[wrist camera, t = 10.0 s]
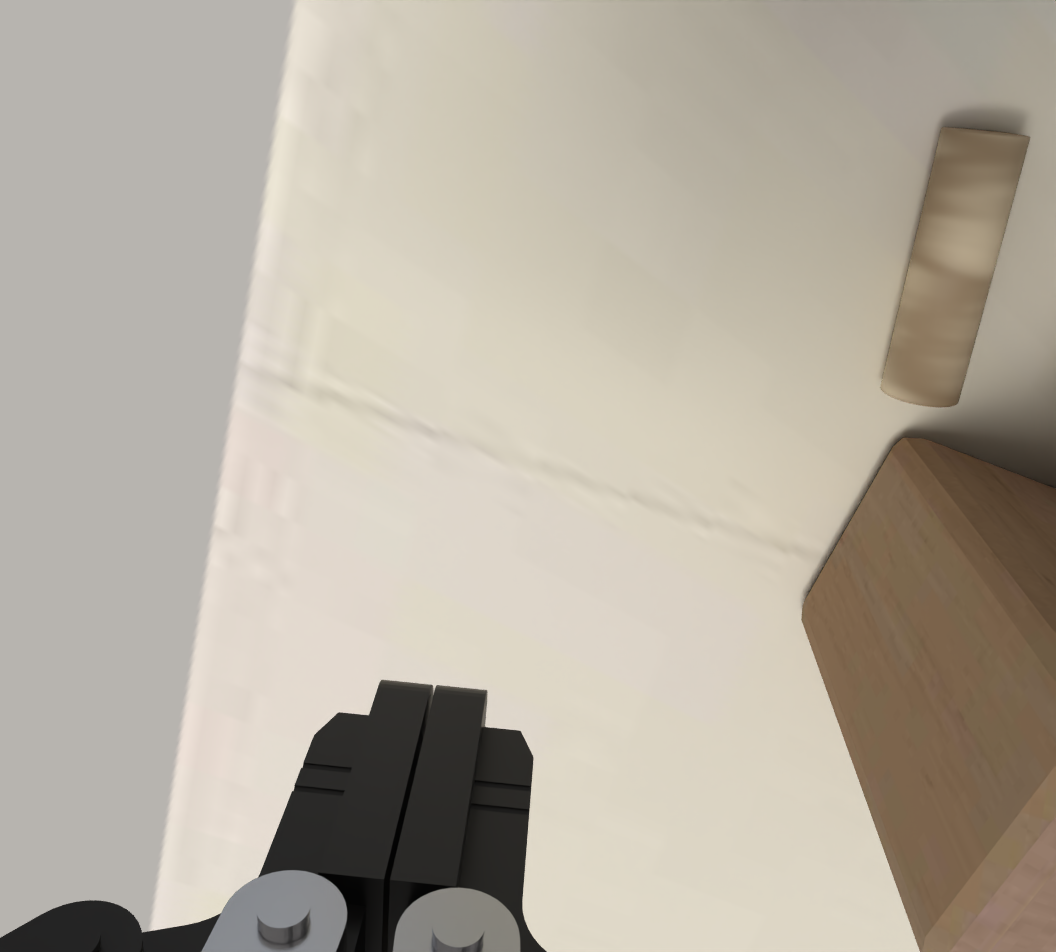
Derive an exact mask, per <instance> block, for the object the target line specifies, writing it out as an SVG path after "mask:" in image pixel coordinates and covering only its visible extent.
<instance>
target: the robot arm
mask: <svg viewBox="0 0 1056 952" xmlns="http://www.w3.org/2000/svg"><path fill="white" fill-rule="evenodd" d="M486 707H487V690H479V689H469V688H459V687H450V686H440V685H437V686H436V688H435V691H434V695H433V685H428V684H418V683H408V682H399V681H389V680H381V681H380V683H379V686H378V689H377V692H376V695H375V698H374V701H373V705H372V708H371V711H370V714H369V715H359V714H349V713H340V712H339V713H338V714H336V715H335V716H334V717H333V718H332V719H331V720H330V721H329V722H328V723H327V724H326V725H325V726H323V727H322V728H321V729H320V730H319V731H318V732H317V733H316V734H315V735H314V737H313V740H312V742H311V745H310V747H309V750H308V752H307V755H306V758H305V760H304V764H303V768H301V770H300V773H299V775H298V778H297V781H296V783H295V788H294V791H292V793H291V796H290V798H289V801H288V804H287V806H286V809H285V811H284V814H283V816H282V819H281V821H280V824H279V827H278V829H277V832H276V834H275V837H274V839H273V842H272V844H271V847H270V850H269V852H268V855H267V857H266V860H265V862H264V865H263V867H262V870H261V873H260V875H259V877H258V878H256V879H254V880H252V881H250V882H249V883H247V884H246V885H244V886H243V887H241V888H240V889H239V890H238V891H237V892H236V893H235V894H234V895H233V896H232V897H231V898H230V899H229V901H228V902H227V904H226V905H225V907H224V909H223V911H222V913H221V914H218V915H216V916H214V917H212V918H210V919H207V920H204V921H201V922H198V923H194V924H189V925H184V926H179V927H173V928H167V929H161V930H155V931H149V932H143V933H142V930H141V928H140V925H139V923H138V921H137V920H136V918H135V917H134V915H132V914H131V913H130V912H129V911H128V910H127V909H125V908H123V907H121V906H119V905H116V904H113V903H110V902H105V901H80V902H74V903H70V904H66V905H62V906H60V907H57V908H54V909H52V910H50V911H48V912H46V913H44V914H42V915H40V916H38V917H36V918H34V919H33V920H31V921H29V922H28V923H26V924H24V925H22V926H20V927H19V928H17V929H15V930H13V931H12V932H10V933H8V934H6V935H5V936H3V937H1V938H0V952H546V951H545V950H544V949H543V948H542V947H541V946H540V945H539V944H538V943H537V941H536V940H535V939H534V938H533V936H532V935H531V933H530V931H529V930H528V927H527V925H526V922H525V920H524V916H523V911H522V897H523V885H524V872H525V859H526V846H527V834H528V821H529V808H530V796H531V783H532V770H533V755H532V753H531V751H530V749H529V747H528V745H527V743H526V741H525V739H524V737H523V735H522V733H521V731H517V730H507V729H497V728H488V727H485V720H486Z"/></svg>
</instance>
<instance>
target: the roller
mask: <svg viewBox="0 0 1056 952" xmlns="http://www.w3.org/2000/svg"><path fill="white" fill-rule="evenodd" d="M1029 140H1030V137H1028V136H1024V135H1018V134H1012V133H1005V132H997V131H987V130H976V129H965V128H954V127H942V128H941V133H940V137H939V141H938V145H937V149H936V154H935V158H934V162H933V166H932V171H931V175H930V179H929V183H928V188H927V192H926V196H925V200H924V205H923V209H922V213H921V217H920V221H919V226H918V230H917V234H916V238H915V243H914V247H913V251H912V255H911V260H910V264H909V268H908V272H907V276H906V281H905V285H904V289H903V293H902V298H901V302H900V306H899V310H898V315H897V319H896V323H895V327H894V331H893V336H892V340H891V344H890V348H889V353H888V357H887V361H886V365H885V370H884V374H883V378H882V382H881V387H880V388H881V390H882V391H883V392H884V393H885V394H887V395H889V396H891V397H893V398H895V399H898V400H901V401H904V402H908V403H911V404H916V405H922V406H929V407H950V406H954V405H956V404H957V403H958V402H959V398H960V395H961V391H962V387H963V383H964V380H965V376H966V372H967V369H968V365H969V361H970V358H971V354H972V350H973V347H974V343H975V339H976V336H977V332H978V328H979V325H980V321H981V317H982V314H983V310H984V306H985V302H986V299H987V295H988V291H989V288H990V284H991V280H992V277H993V273H994V269H995V266H996V262H997V258H998V255H999V251H1000V247H1001V244H1002V240H1003V236H1004V233H1005V229H1006V225H1007V221H1008V218H1009V214H1010V210H1011V207H1012V203H1013V199H1014V196H1015V192H1016V188H1017V185H1018V181H1019V177H1020V174H1021V170H1022V166H1023V163H1024V159H1025V155H1026V152H1027V148H1028V144H1029Z"/></svg>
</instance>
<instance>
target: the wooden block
mask: <svg viewBox="0 0 1056 952" xmlns="http://www.w3.org/2000/svg"><path fill="white" fill-rule="evenodd" d="M801 620H802V623H803V625H804V628H805V631H806V634H807V637H808V639H809V642H810V645H811V648H812V651H813V653H814V656H815V659H816V662H817V665H818V667H819V670H820V673H821V676H822V679H823V681H824V684H825V687H826V690H827V692H828V695H829V698H830V701H831V704H832V706H833V709H834V712H835V715H836V718H837V720H838V723H839V726H840V729H841V732H842V734H843V737H844V740H845V743H846V746H847V748H848V751H849V754H850V757H851V760H852V762H853V765H854V768H855V771H856V774H857V776H858V779H859V782H860V785H861V788H862V790H863V793H864V796H865V799H866V802H867V804H868V807H869V810H870V813H871V816H872V818H873V821H874V824H875V827H876V830H877V832H878V835H879V838H880V841H881V844H882V846H883V849H884V852H885V855H886V858H887V860H888V863H889V866H890V869H891V872H892V874H893V877H894V880H895V883H896V885H897V888H898V891H899V894H900V897H901V899H902V902H903V905H904V908H905V911H906V913H907V916H908V919H909V922H910V925H911V927H912V930H913V933H914V936H915V939H916V941H917V944H918V947H919V950H920V952H1056V489H1055V488H1052V487H1050V486H1047V485H1045V484H1042V483H1039V482H1037V481H1034V480H1032V479H1029V478H1026V477H1024V476H1021V475H1018V474H1016V473H1013V472H1011V471H1008V470H1005V469H1003V468H1000V467H998V466H995V465H992V464H990V463H987V462H984V461H982V460H979V459H977V458H974V457H971V456H969V455H966V454H964V453H961V452H958V451H956V450H953V449H951V448H948V447H945V446H943V445H940V444H937V443H935V442H932V441H930V440H927V439H919V438H902V439H901V440H900V441H899V442H898V443H897V444H896V445H894V446H893V447H892V449H891V451H890V453H889V454H888V456H887V458H886V460H885V461H884V463H883V465H882V467H881V468H880V470H879V472H878V474H877V475H876V477H875V479H874V481H873V482H872V484H871V486H870V488H869V489H868V491H867V493H866V494H865V496H864V498H863V500H862V501H861V503H860V505H859V507H858V508H857V510H856V512H855V514H854V515H853V517H852V519H851V521H850V522H849V524H848V526H847V528H846V529H845V531H844V533H843V535H842V536H841V538H840V540H839V542H838V543H837V545H836V547H835V549H834V550H833V552H832V554H831V556H830V557H829V559H828V561H827V563H826V564H825V566H824V568H823V570H822V571H821V573H820V575H819V576H818V578H817V580H816V582H815V583H814V585H813V587H812V589H811V590H810V592H809V594H808V596H807V597H806V599H805V601H804V603H803V608H802V619H801Z"/></svg>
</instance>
